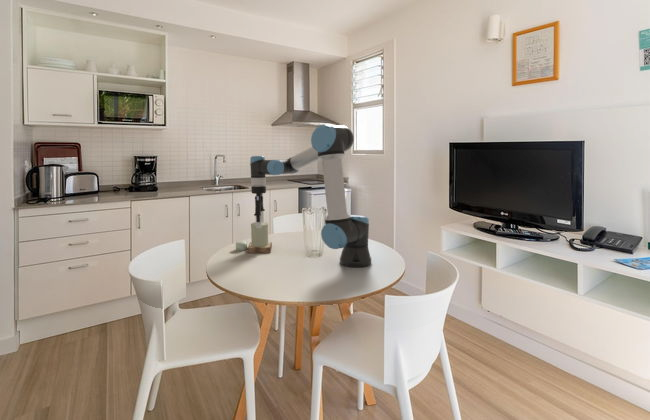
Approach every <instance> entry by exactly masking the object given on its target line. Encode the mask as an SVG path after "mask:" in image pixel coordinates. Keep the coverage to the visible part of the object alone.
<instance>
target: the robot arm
mask: <svg viewBox="0 0 650 420" xmlns="http://www.w3.org/2000/svg"><path fill="white" fill-rule="evenodd" d="M354 138H355V136H354V134H353V131H352V130H351V129H350V128H349V127H347V126H346V125H339V124H338V125H336V124H331V123H330V124H329V123H327V124H326V123H325V124H320V125H318V126H317V127H316V128H314V130H313V131H312V133H311V137H310V144H311V147H310V148H307V149H305V150H302V151H301V152H299V153H297V154H295V155H293V156H291V157H289V158H287V159H286V158H285V159H266V158H265V156H264V155H252V156H250V159H249V161H250V162H249V165H250V180H249V181H250V183H251V190H250V192H251V194H255V197H254V200H255V201H254V203H255V204H254V205H255V206H254V207H255V210H254V214H253V216H254V217H255V222H256V228H262V226H261V222H265V219H264V212H265V211H266V210H265V208H264V194H266V193H267V187H266V184H267V180H266V179H267V177H266V175H269V176H270V175H271V176H280V175H289V174H290V175H292V174H297V173H298V172H299V171H300V170H301V169H303V168H306V167H308V166H310V165H312V164H314V163H316V162H319V161H321V163H322V164H321V166H322V173H323V182H324V183H323V184H324V192H325V202H326V211H327V215H326V216H325V218H324V224H325V225H323V227H322V228H321V232H320V235H321V240H322V241H323V243H324V244H325V245H326V246H327V247H328V248H330V249H331V250H338V249H339V250H340V249H342V250H341V254H340V256H339V263H340V265H341V266H345V267H350V268H364V267H368V266H370V265H372V256H371V255H370V249H369V234H370V232H369V230H370V227H369V226H370V224H369V223H370V222H369V221H370V220H369V217H368V216H364V215H357V214H356V215H355V214H349V213H348V211H347V202H346V201H347V198H346V190H345V181H344V172H343V161H342V158H343V157H344V156H345V152H347V151H349V150H350V149H351V148H352V146H353V144H354V141H355V139H354Z"/></svg>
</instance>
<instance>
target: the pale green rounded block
mask: <svg viewBox="0 0 650 420" xmlns="http://www.w3.org/2000/svg"><path fill="white" fill-rule="evenodd" d="M247 248H248V242H247V241H245V240H244V241H243V240H242V241H241V240H240V241H237V242H235V251H237V252H247Z"/></svg>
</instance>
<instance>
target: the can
mask: <svg viewBox="0 0 650 420" xmlns="http://www.w3.org/2000/svg"><path fill="white" fill-rule="evenodd" d="M261 226H262V228H256V221H255V222H251V223H250V231H251V233H250V235H251V238H250V239H251V242H252V243H251V242H250V243H251V245H252V246H254V247H264V246H267V245H269V243H268V242H269V223H268V222H265V221H264V222H261Z"/></svg>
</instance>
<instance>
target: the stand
mask: <svg viewBox="0 0 650 420" xmlns="http://www.w3.org/2000/svg"><path fill="white" fill-rule="evenodd" d="M251 243H252V241H251V242H249V244H248V245H247V250H246V252H247V254H268V253H269V254H271V251H272V247H273V242H271V241H268V243H269V245H267V246H264V247H254V246H252V245H251Z"/></svg>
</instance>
